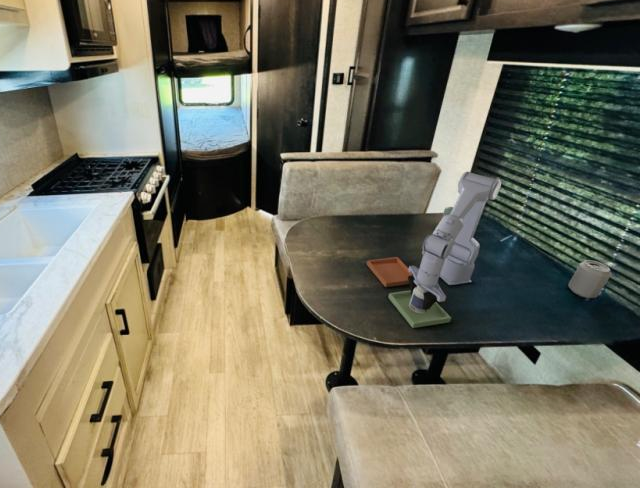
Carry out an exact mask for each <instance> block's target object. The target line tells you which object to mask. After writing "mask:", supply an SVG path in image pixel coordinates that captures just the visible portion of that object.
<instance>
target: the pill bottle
mask: <svg viewBox="0 0 640 488" xmlns="http://www.w3.org/2000/svg"><path fill="white" fill-rule="evenodd" d="M426 292H430V291H428V290H427V289H425V288H423V287H422V286H420V285H417V287H415V288H414V290H413V293H412V296H411V300H410V303H409V306H410V308H411V310H412V311H414V312H416V313H418V314H425V313H426V312H427V310H428V309H427V310H424V309H423V303H424V295H423V293H426Z"/></svg>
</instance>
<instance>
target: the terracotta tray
mask: <svg viewBox="0 0 640 488" xmlns="http://www.w3.org/2000/svg"><path fill="white" fill-rule="evenodd" d="M366 266H367V267H368V268H369V270H370V271H371V272H372V273H373V274H374V276H375V277H376V278H377V279H378V280H379V281H380V283H381V284H382V285H383V286H384V288H389V287H399V286H405V285H410V283H409V280H408V276H411V275H412V274H413V273H412V272H411V273H410V272H409V271H408V269H409V267H408V266H407V265H406V264H405V263H404V262H403V261H402V260H401V259H400V258H399V257H398V256H394V257H386V258H377V259H369V260H367V261H366Z"/></svg>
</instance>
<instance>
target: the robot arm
mask: <svg viewBox="0 0 640 488" xmlns="http://www.w3.org/2000/svg"><path fill="white" fill-rule="evenodd" d="M457 187H458V188H457V192H458V194H459V195H458V197H457V199H456V201H455V203H454V205H453V206H452V207H453V209H452V211H451V213H450V214H449V215H445V216H444V217H443V218H442V217H441V220H440V221H439V223H437V225H436V227H435V229H434V230H433V232H432V233H430V234H428V235H427V236H426V237H425V239H424V241H423V244H422V246H421V247H422V252H421V255H422V258H421V261H420V265H419V268H418V267H417V266H415V265H409V267H408V268H409V269H408V271H409V272H410V273H411V272H412V273H413V274H412V275H411V276H408V280H409V283H410V284H409V287H410V289H409V290H411V296H412V293H413V290H414V288H415V287H417V285H420V286H422V287H423V288H425V289H427V290H428V291H430V292H426V293H423V295H424V303H423V309H424V310H427V309H430V308H431V306H432V305H433V304H434V303H435V302H437V303H441V302H445V301H446V298H447V295H446V294H445V293H444V292H443V290H442V287H441V286H440V284H439V279H442V280H443V281H444V282H445V283H446V284H447V285H448V286H454V285H462V284H469V283H472V280H471V278H472V275H473V273H474V270H475V268H476V267H475V266H476V265H475V261H476V260H477V258H478V255H479V252H480V248H481V246H480V243H479V242H478V241H477V240H476V239H475V238H474V235H475V233H476V230H477V227H478V225H479V222H480V220H481V217H482V214H483V212H484V208H485V206H486V203H487V201H489V200H493V201H495V200H496V199H497V197H498V194H499V193H500V192H499V191H500V189H501V187H502V181H501V179H499V178H497V179H496V178H493V177H489V176H485V175H481V174H477V173H473V172H470V171H465V172H463V173H462V174H461V176H460V178H459V180H458V182H457Z"/></svg>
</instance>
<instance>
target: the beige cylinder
mask: <svg viewBox="0 0 640 488" xmlns="http://www.w3.org/2000/svg"><path fill="white" fill-rule="evenodd" d="M611 276H612V273H611V268H610V267H609V266H608V265H605V264H604V263H602V262H599V261H596V260H592V259H591V260H590V259H586V260H584V261H583V262H580V263H579V265H578V266H577V268H576V270H575V272H574V274H573V276H572V277H571V279H570V280H569V282H568V285H567V286H568V288H569V289H570V291H571V292H573V293H574V294H576V295H578V296H579V297H583V298H587V299H595V298H597V297H598V296H599V295H600V293H601V292H602V290H603V289H604V288H605V286H606V284H607V283H608V281H609V280H610V278H611Z"/></svg>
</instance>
